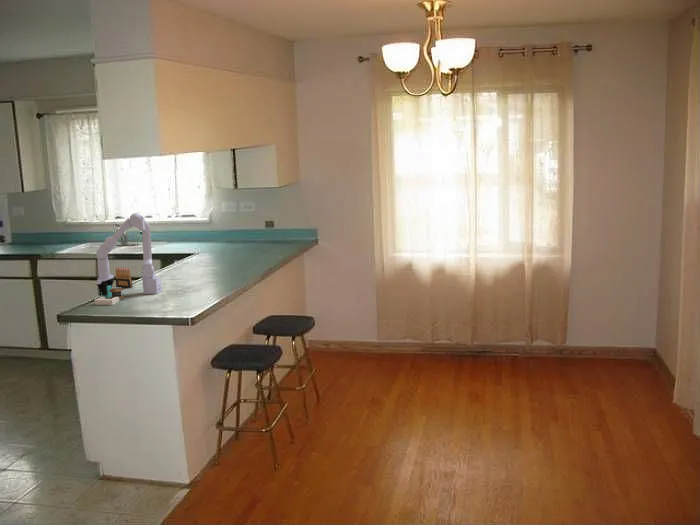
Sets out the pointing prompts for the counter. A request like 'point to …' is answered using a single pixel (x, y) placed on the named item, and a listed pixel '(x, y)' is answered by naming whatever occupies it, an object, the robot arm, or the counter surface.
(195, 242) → the counter surface
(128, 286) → the ammunition clip
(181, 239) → the counter surface
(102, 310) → the counter surface
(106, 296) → the tab peg
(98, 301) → the notched board
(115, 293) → the bobbin
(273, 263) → the counter surface
